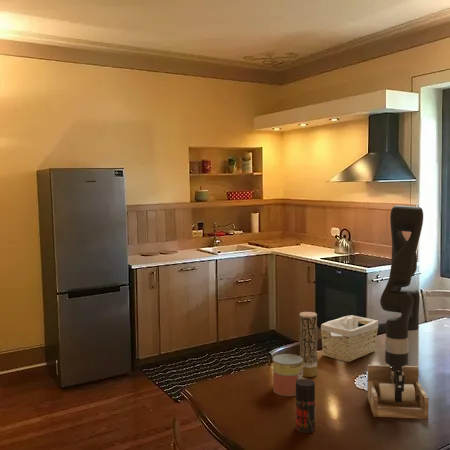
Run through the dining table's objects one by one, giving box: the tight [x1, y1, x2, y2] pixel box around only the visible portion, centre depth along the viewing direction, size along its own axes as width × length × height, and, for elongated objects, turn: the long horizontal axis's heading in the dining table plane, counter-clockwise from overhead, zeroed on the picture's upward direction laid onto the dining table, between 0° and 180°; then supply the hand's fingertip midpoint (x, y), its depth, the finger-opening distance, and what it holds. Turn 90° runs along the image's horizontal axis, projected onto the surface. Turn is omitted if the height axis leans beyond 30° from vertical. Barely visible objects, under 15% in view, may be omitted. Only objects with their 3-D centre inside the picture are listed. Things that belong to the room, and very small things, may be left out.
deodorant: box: [295, 378, 316, 434], centre depth 162 cm, size 6×6×15 cm
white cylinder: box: [379, 383, 415, 401], centre depth 176 cm, size 6×11×6 cm, turn 82°
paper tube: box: [299, 311, 318, 378], centre depth 207 cm, size 7×7×25 cm
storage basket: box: [320, 314, 379, 363], centre depth 232 cm, size 24×16×15 cm
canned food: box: [272, 353, 304, 397], centre depth 193 cm, size 11×11×12 cm
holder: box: [367, 364, 430, 420], centre depth 176 cm, size 15×17×12 cm
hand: (396, 397), depth 176 cm, fingers closed on white cylinder, 5 cm apart
